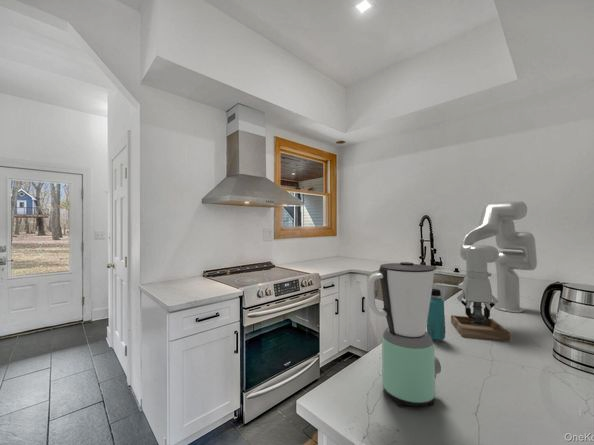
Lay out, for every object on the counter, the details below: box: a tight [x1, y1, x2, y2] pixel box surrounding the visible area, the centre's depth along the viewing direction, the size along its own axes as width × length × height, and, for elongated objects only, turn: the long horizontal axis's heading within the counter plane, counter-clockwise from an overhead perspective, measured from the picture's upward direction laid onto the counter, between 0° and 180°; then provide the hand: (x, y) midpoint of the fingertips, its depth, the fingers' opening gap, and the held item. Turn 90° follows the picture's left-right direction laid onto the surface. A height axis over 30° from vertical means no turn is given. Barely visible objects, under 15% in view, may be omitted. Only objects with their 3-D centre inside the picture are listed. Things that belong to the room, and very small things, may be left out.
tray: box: [450, 315, 511, 342], centre depth 113 cm, size 16×16×4 cm
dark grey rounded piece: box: [470, 302, 486, 326], centre depth 113 cm, size 6×6×12 cm
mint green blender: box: [367, 261, 442, 408], centre depth 70 cm, size 19×13×35 cm
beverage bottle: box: [426, 288, 446, 341], centre depth 104 cm, size 6×7×20 cm
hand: (477, 317), depth 113 cm, fingers closed on dark grey rounded piece, 5 cm apart
